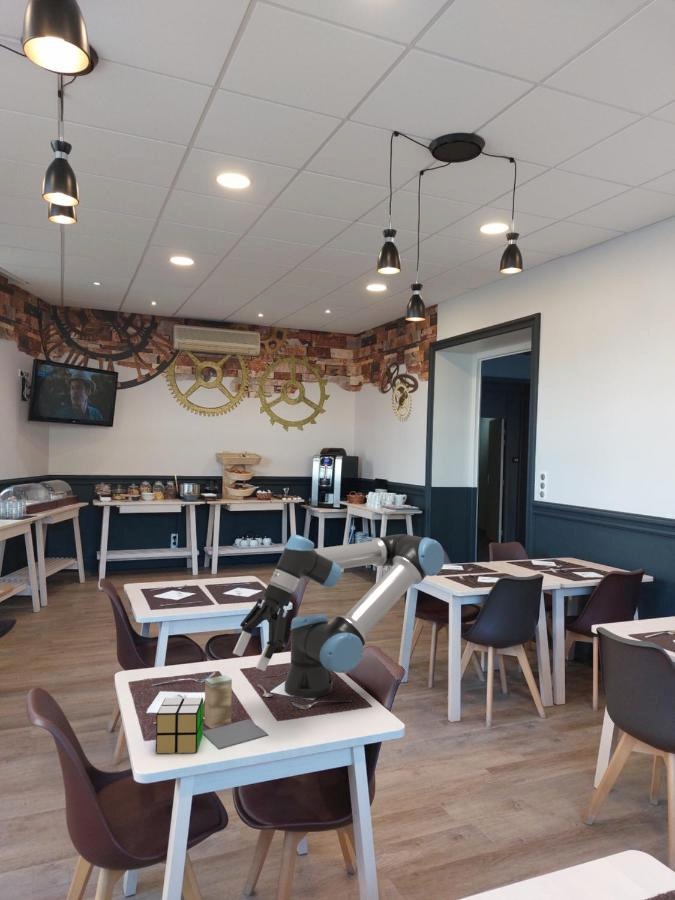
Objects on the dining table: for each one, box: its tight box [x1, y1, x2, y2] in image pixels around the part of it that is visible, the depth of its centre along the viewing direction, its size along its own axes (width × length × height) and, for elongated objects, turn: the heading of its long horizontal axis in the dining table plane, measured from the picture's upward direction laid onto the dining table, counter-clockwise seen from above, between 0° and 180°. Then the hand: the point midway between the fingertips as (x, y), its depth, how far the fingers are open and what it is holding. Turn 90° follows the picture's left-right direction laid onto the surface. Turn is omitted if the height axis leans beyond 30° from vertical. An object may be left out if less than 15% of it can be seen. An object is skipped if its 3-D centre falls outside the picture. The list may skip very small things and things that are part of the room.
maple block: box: [204, 674, 233, 729], centre depth 166 cm, size 6×4×12 cm, turn 125°
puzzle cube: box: [155, 697, 204, 755], centre depth 154 cm, size 10×10×10 cm
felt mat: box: [202, 718, 269, 750], centre depth 160 cm, size 14×11×1 cm
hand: (248, 662), depth 165 cm, fingers open, 13 cm apart
